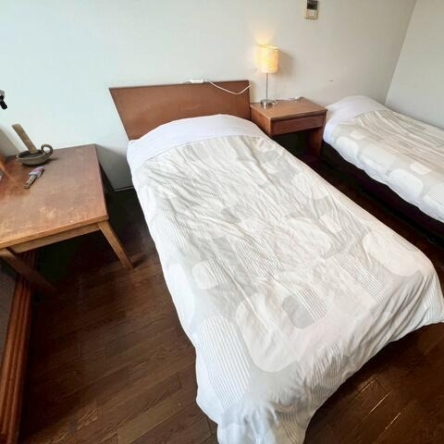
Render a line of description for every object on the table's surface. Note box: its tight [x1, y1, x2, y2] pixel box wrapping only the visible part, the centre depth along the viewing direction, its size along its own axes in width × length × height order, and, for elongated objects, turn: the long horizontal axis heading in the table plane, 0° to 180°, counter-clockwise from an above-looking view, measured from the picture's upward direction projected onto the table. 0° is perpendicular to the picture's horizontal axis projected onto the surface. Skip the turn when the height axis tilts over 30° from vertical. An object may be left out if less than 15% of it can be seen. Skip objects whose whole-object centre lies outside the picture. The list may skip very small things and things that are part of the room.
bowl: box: [16, 143, 54, 166], centre depth 146 cm, size 14×18×10 cm
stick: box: [11, 123, 38, 154], centre depth 140 cm, size 4×4×16 cm
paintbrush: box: [22, 166, 45, 190], centre depth 137 cm, size 4×3×20 cm
